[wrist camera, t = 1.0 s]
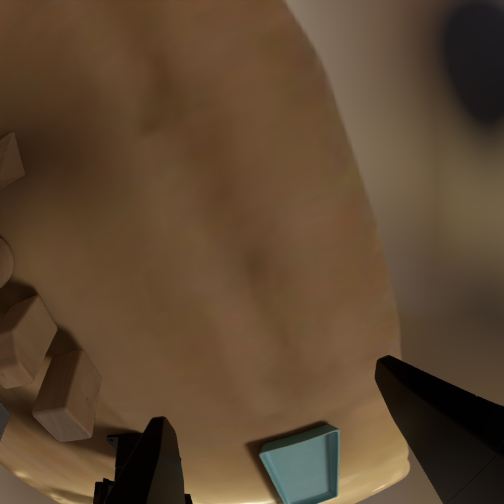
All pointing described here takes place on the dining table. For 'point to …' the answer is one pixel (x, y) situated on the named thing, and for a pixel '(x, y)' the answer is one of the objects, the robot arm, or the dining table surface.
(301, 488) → the shallow long dish
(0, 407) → the board
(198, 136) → the dining table surface
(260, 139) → the dining table surface
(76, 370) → the wooden block set
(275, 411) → the dining table surface
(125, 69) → the dining table surface
